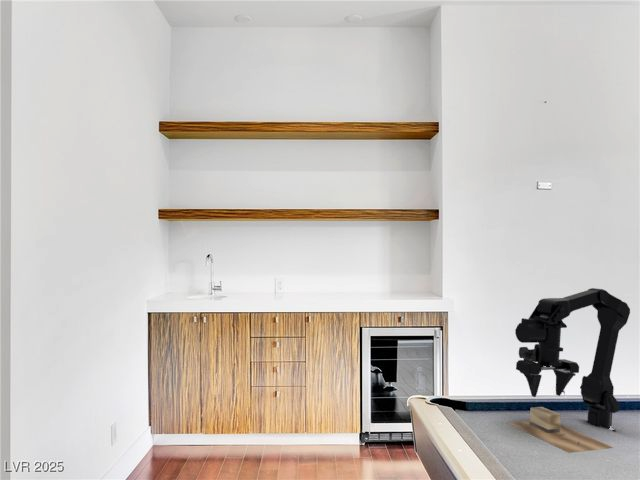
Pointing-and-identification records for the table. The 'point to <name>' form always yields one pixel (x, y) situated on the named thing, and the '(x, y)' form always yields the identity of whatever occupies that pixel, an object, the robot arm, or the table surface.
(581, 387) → the robot arm
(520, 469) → the table surface
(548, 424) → the block
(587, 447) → the light brown wooden board
